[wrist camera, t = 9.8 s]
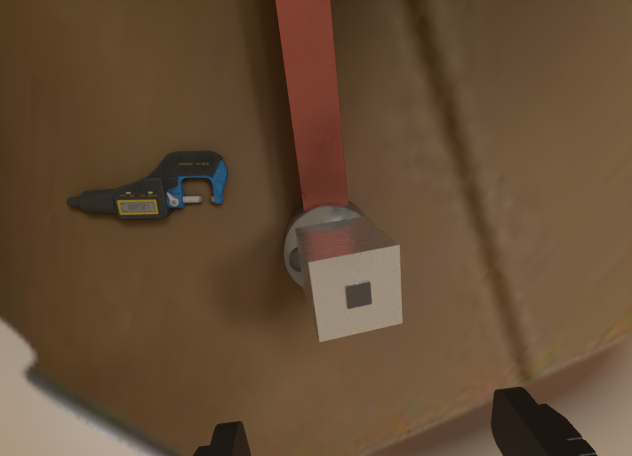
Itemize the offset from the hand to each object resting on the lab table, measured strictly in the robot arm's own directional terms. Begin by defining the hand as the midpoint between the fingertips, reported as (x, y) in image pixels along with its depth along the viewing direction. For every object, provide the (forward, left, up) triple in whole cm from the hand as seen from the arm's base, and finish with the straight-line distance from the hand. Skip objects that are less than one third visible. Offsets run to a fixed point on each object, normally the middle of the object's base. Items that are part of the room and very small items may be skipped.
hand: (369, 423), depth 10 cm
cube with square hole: (0, 0, -14) cm, 14 cm away
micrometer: (-6, -13, -18) cm, 23 cm away
